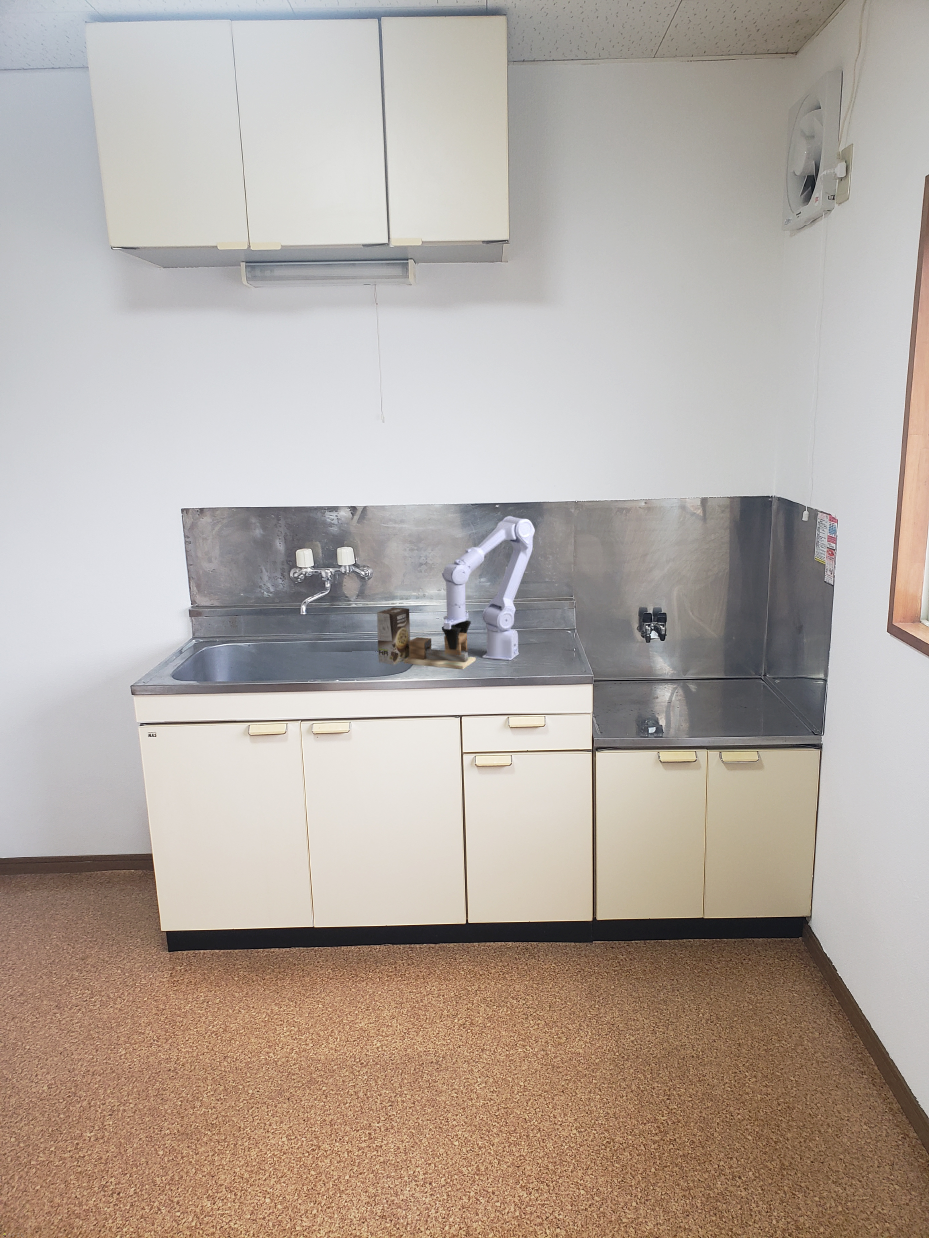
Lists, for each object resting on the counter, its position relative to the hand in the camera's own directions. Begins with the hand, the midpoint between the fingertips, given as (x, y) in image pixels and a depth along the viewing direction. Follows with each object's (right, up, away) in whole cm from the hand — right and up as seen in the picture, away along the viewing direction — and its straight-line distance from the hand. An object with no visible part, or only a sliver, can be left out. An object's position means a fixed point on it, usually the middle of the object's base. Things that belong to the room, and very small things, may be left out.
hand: (457, 646), depth 271 cm
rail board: (-5, -5, +4) cm, 8 cm away
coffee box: (-19, -5, +6) cm, 21 cm away
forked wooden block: (0, -2, +1) cm, 2 cm away
